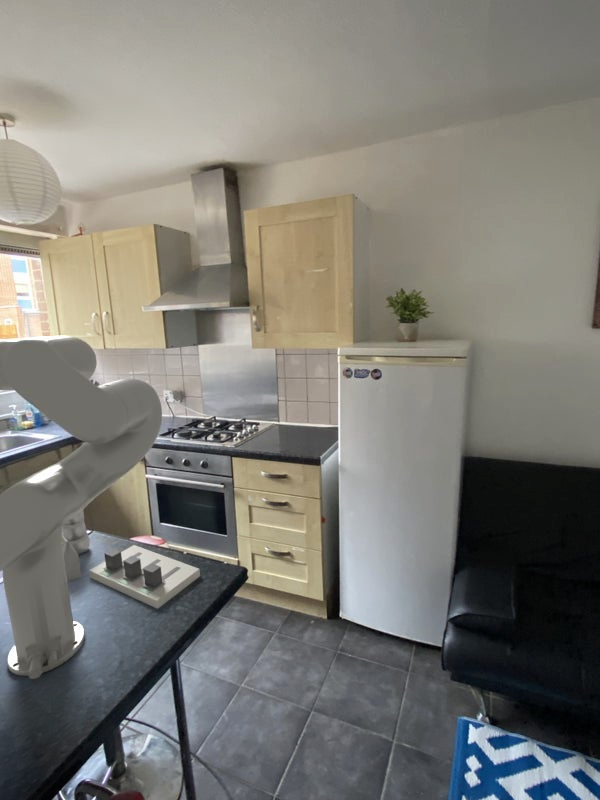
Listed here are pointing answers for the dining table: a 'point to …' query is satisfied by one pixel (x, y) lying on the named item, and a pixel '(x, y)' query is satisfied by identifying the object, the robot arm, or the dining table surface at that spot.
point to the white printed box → (70, 560)
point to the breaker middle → (132, 568)
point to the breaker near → (152, 576)
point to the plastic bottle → (77, 533)
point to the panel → (171, 570)
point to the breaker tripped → (113, 560)
